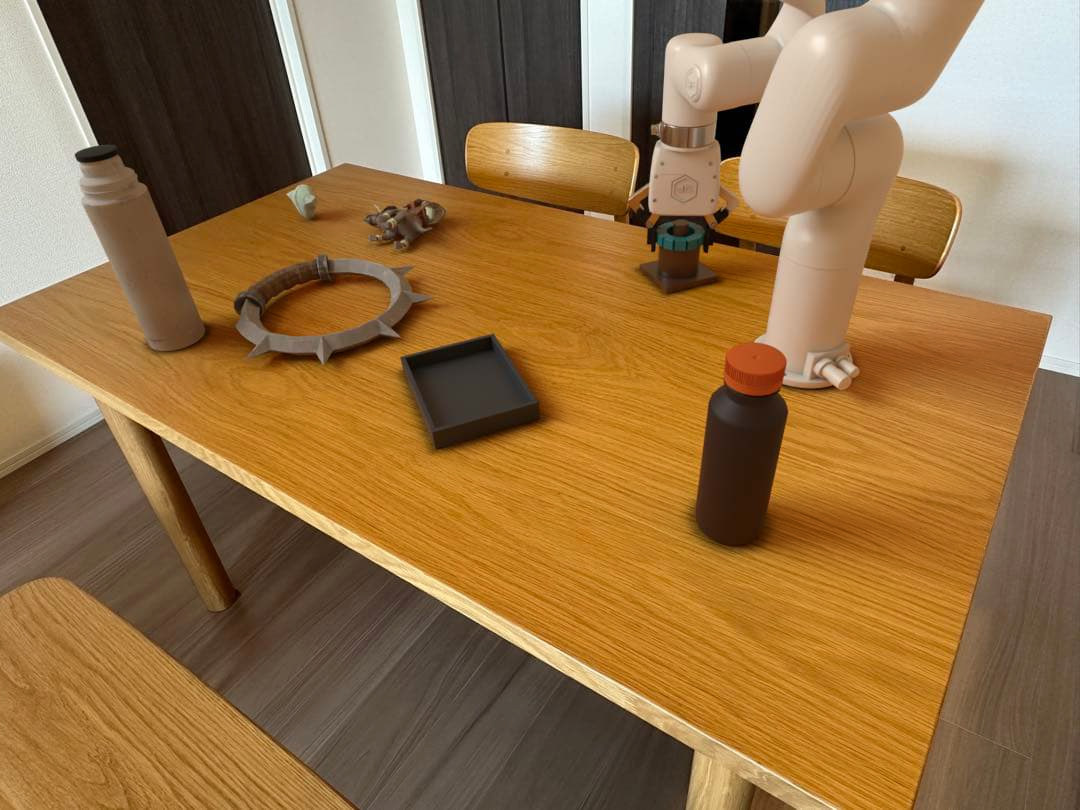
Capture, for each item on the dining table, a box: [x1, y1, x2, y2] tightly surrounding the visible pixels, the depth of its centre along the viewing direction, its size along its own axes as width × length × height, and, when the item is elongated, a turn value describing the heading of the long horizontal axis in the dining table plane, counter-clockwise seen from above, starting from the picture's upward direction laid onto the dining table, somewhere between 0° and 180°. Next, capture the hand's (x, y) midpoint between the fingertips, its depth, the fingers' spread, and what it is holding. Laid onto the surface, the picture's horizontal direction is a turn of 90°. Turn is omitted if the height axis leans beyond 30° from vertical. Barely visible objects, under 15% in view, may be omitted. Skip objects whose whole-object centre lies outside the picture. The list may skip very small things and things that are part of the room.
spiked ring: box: [233, 253, 437, 367], centre depth 106 cm, size 33×5×30 cm
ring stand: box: [639, 218, 718, 295], centre depth 109 cm, size 9×9×9 cm
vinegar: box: [694, 341, 789, 546], centre depth 64 cm, size 7×7×20 cm
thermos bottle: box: [74, 144, 206, 352], centre depth 96 cm, size 8×8×28 cm
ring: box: [656, 221, 705, 251], centre depth 107 cm, size 7×7×2 cm
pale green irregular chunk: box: [286, 183, 318, 220], centre depth 136 cm, size 8×4×7 cm, turn 52°
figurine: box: [362, 198, 447, 250], centre depth 129 cm, size 20×6×17 cm
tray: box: [399, 333, 541, 450], centre depth 89 cm, size 17×13×3 cm
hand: (679, 248), depth 109 cm, fingers closed on ring, 7 cm apart
